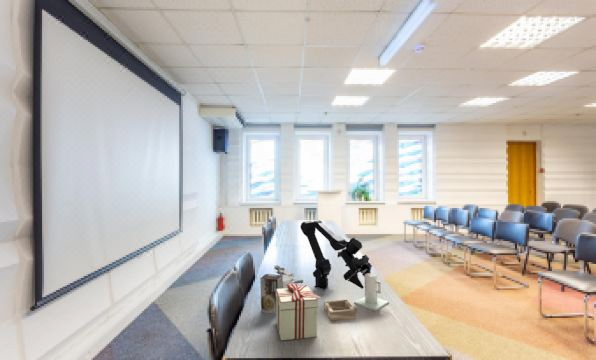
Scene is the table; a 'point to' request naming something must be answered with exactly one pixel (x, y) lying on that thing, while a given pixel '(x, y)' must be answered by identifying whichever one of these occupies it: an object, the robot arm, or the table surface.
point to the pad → (374, 307)
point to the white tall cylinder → (371, 288)
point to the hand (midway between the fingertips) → (368, 285)
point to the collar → (339, 314)
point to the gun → (287, 274)
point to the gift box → (296, 312)
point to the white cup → (286, 281)
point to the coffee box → (269, 292)
